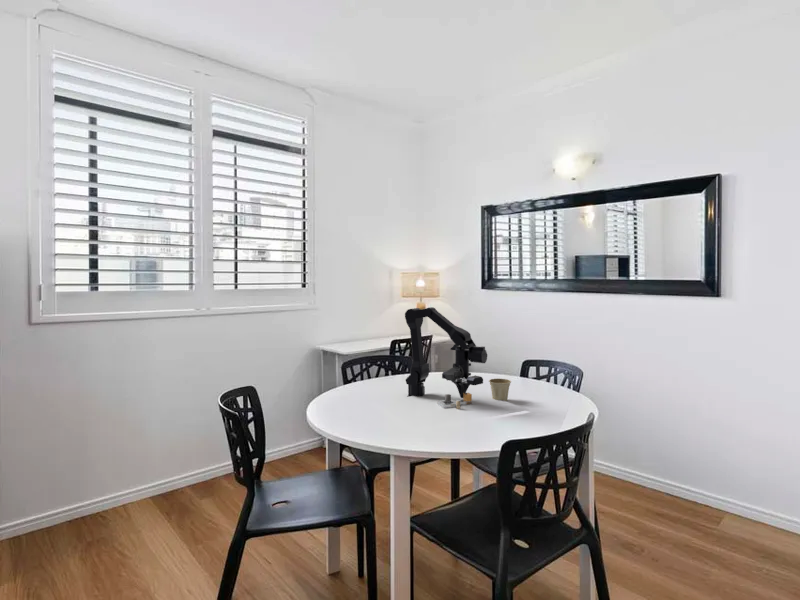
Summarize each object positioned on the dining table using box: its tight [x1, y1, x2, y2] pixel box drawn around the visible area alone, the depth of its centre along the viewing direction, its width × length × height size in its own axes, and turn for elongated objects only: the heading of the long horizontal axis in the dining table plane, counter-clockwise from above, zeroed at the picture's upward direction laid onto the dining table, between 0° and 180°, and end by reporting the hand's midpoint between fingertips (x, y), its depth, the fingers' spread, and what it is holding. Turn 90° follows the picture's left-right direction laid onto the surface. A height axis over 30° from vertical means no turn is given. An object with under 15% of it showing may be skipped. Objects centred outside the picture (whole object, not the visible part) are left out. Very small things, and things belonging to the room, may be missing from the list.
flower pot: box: [488, 378, 512, 402], centre depth 207 cm, size 9×9×9 cm
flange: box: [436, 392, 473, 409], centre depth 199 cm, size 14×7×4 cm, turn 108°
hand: (462, 397), depth 203 cm, fingers closed
